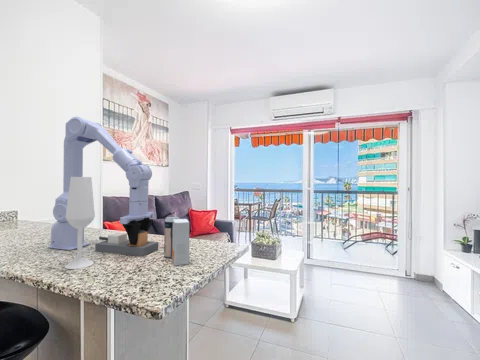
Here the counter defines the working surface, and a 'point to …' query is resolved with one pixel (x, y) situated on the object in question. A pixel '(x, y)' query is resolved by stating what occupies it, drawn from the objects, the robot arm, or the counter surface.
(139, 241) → the orange plug
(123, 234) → the socket strip
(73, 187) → the champagne flute
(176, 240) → the skincare box
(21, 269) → the counter surface
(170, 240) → the beer can
